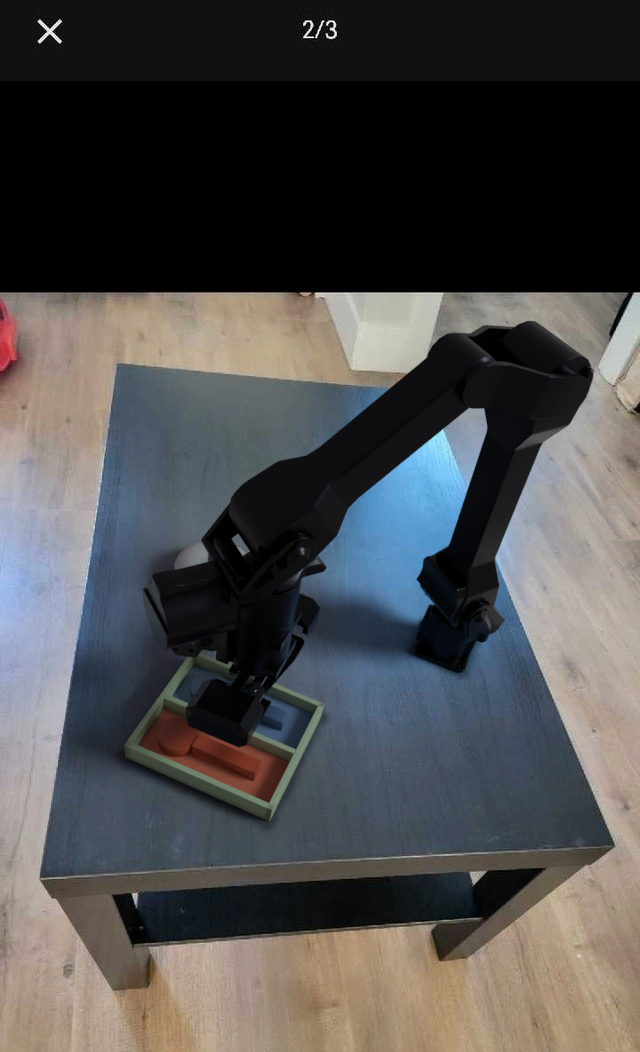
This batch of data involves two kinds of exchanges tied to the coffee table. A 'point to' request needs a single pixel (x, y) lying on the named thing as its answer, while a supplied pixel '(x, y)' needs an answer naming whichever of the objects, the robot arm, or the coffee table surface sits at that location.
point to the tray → (265, 744)
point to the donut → (194, 556)
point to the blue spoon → (271, 717)
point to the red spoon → (204, 748)
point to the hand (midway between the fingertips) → (251, 708)
